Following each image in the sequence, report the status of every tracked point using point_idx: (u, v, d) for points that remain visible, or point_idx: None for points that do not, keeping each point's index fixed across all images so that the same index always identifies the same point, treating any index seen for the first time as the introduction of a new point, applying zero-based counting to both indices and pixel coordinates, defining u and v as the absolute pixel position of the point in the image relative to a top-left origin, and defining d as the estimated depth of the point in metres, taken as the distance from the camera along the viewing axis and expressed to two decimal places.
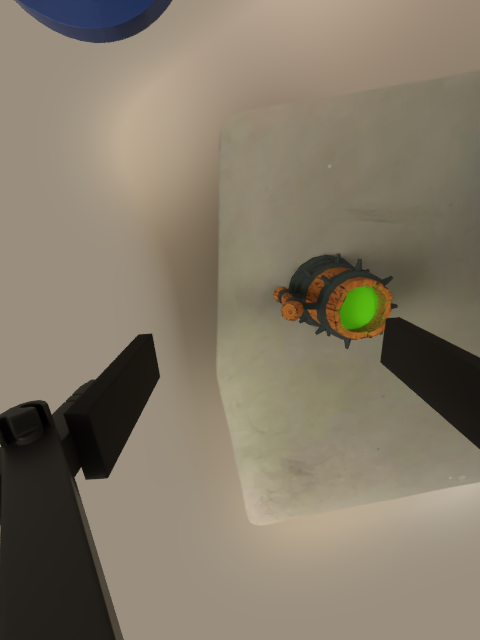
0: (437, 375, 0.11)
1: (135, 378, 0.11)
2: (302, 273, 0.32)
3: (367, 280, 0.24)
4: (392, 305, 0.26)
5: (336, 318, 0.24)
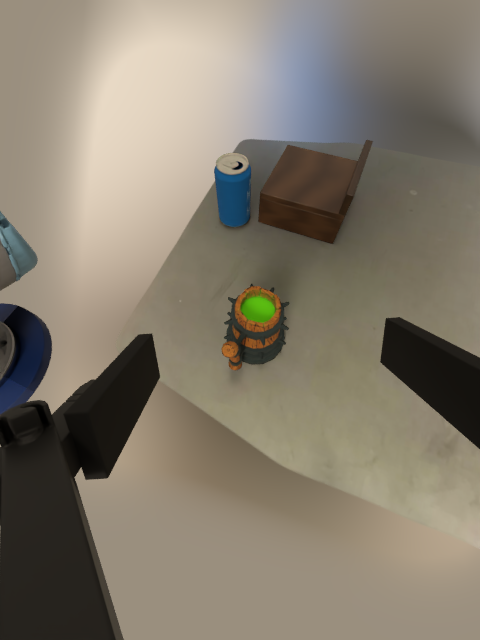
0: (437, 375, 0.11)
1: (135, 378, 0.11)
2: None
3: (239, 296, 0.34)
4: (270, 290, 0.36)
5: (252, 323, 0.32)
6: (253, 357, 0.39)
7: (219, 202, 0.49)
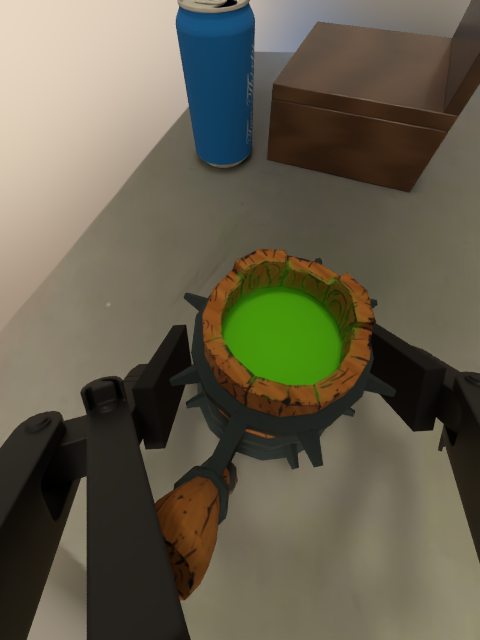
0: (382, 364, 0.12)
1: (177, 363, 0.13)
2: (206, 409, 0.16)
3: (217, 287, 0.10)
4: None
5: (274, 394, 0.07)
6: (268, 450, 0.15)
7: (192, 109, 0.25)
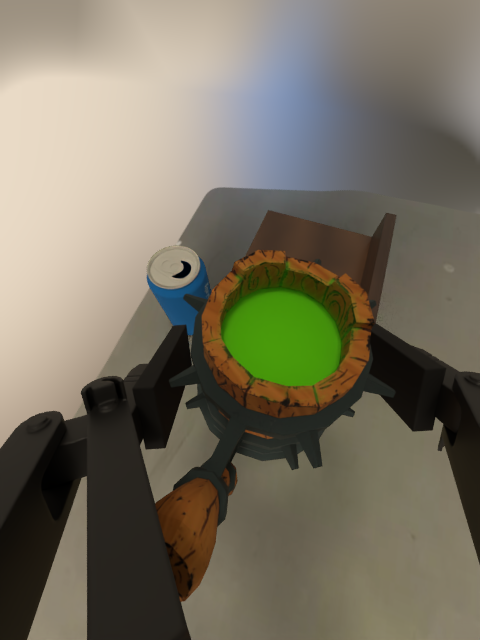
0: (382, 364, 0.12)
1: (178, 363, 0.13)
2: (206, 409, 0.16)
3: (216, 288, 0.10)
4: None
5: (273, 395, 0.07)
6: (268, 451, 0.15)
7: None
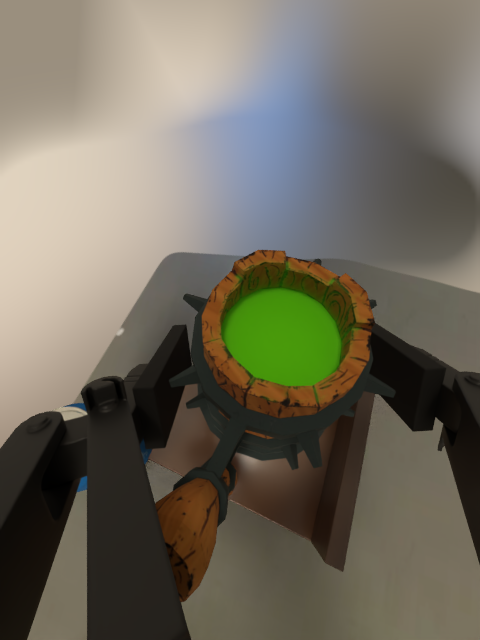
0: (382, 364, 0.12)
1: (178, 363, 0.13)
2: (206, 409, 0.16)
3: (217, 288, 0.10)
4: None
5: (274, 395, 0.07)
6: (268, 451, 0.15)
7: None
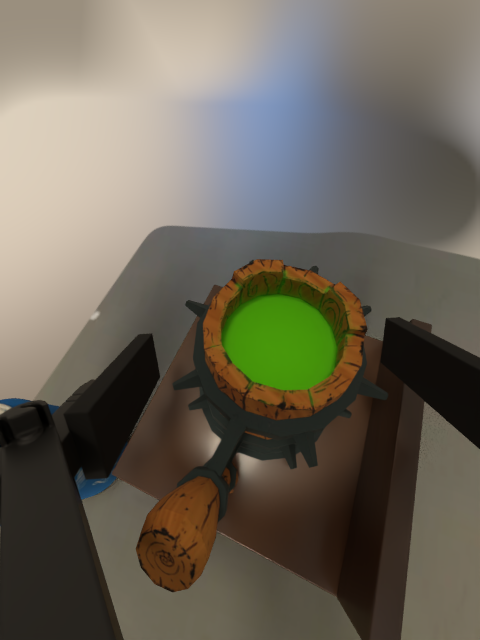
0: (437, 375, 0.11)
1: (135, 378, 0.11)
2: (208, 411, 0.17)
3: (217, 296, 0.10)
4: None
5: (270, 399, 0.08)
6: (268, 451, 0.15)
7: None
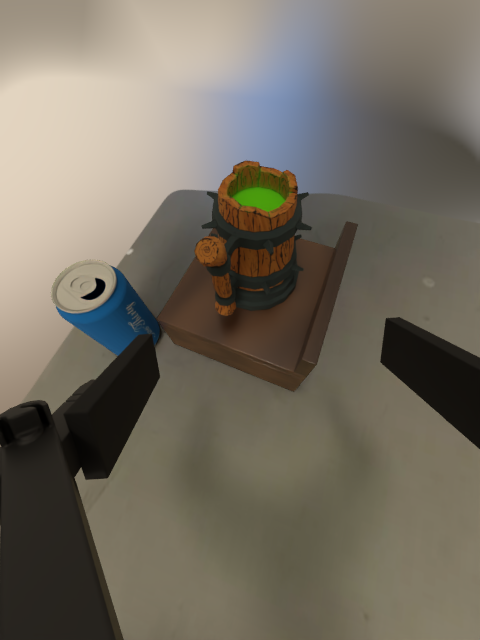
0: (437, 375, 0.11)
1: (135, 378, 0.11)
2: None
3: (225, 179, 0.20)
4: None
5: (250, 210, 0.18)
6: (254, 296, 0.25)
7: None
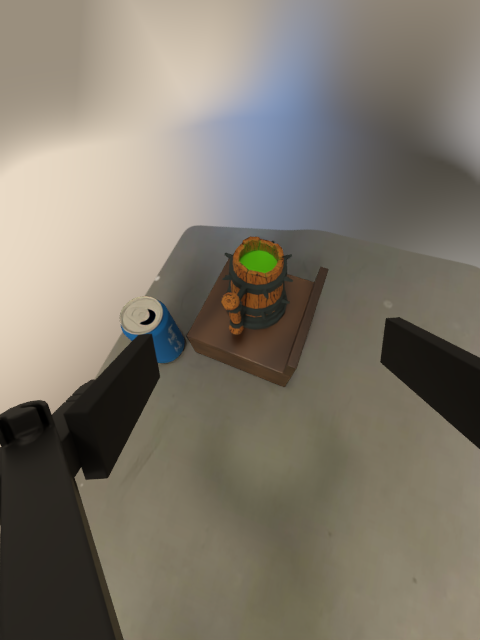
0: (437, 375, 0.11)
1: (135, 378, 0.11)
2: None
3: (237, 248, 0.31)
4: None
5: (253, 273, 0.29)
6: (256, 320, 0.36)
7: None
